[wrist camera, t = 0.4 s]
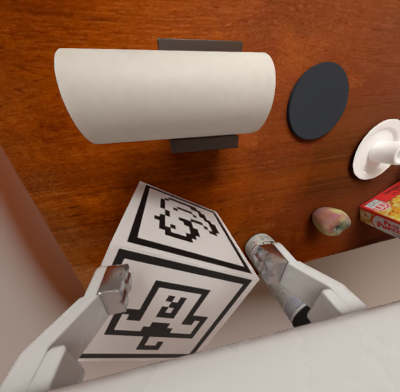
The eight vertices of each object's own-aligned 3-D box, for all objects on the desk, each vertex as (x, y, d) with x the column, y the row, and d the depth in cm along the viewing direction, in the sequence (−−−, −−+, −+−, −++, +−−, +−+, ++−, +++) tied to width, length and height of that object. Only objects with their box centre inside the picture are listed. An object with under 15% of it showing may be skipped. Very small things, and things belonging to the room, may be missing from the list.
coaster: (293, 62, 23) (297, 61, 22) (354, 63, 25) (358, 62, 24) (282, 141, 27) (284, 141, 27) (333, 137, 29) (336, 137, 28)
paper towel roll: (86, 66, 14) (32, 25, 8) (242, 67, 17) (283, 35, 11) (107, 141, 17) (78, 148, 11) (239, 131, 19) (270, 134, 13)
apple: (332, 193, 35) (363, 205, 29) (326, 223, 38) (352, 238, 33) (309, 200, 34) (336, 213, 29) (304, 229, 37) (328, 245, 32)
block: (216, 212, 30) (259, 279, 16) (182, 268, 34) (194, 359, 20) (140, 180, 25) (110, 243, 11) (109, 251, 28) (60, 361, 15)
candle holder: (340, 177, 33) (363, 184, 29) (368, 115, 29) (400, 113, 25) (379, 179, 36) (405, 185, 32) (410, 123, 31) (445, 122, 28)
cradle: (159, 66, 20) (156, 36, 13) (219, 66, 21) (242, 39, 15) (169, 147, 24) (171, 154, 17) (219, 143, 25) (238, 148, 19)
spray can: (273, 247, 37) (374, 356, 19) (248, 260, 37) (326, 381, 19) (266, 227, 34) (379, 335, 16) (239, 242, 34) (322, 365, 16)
